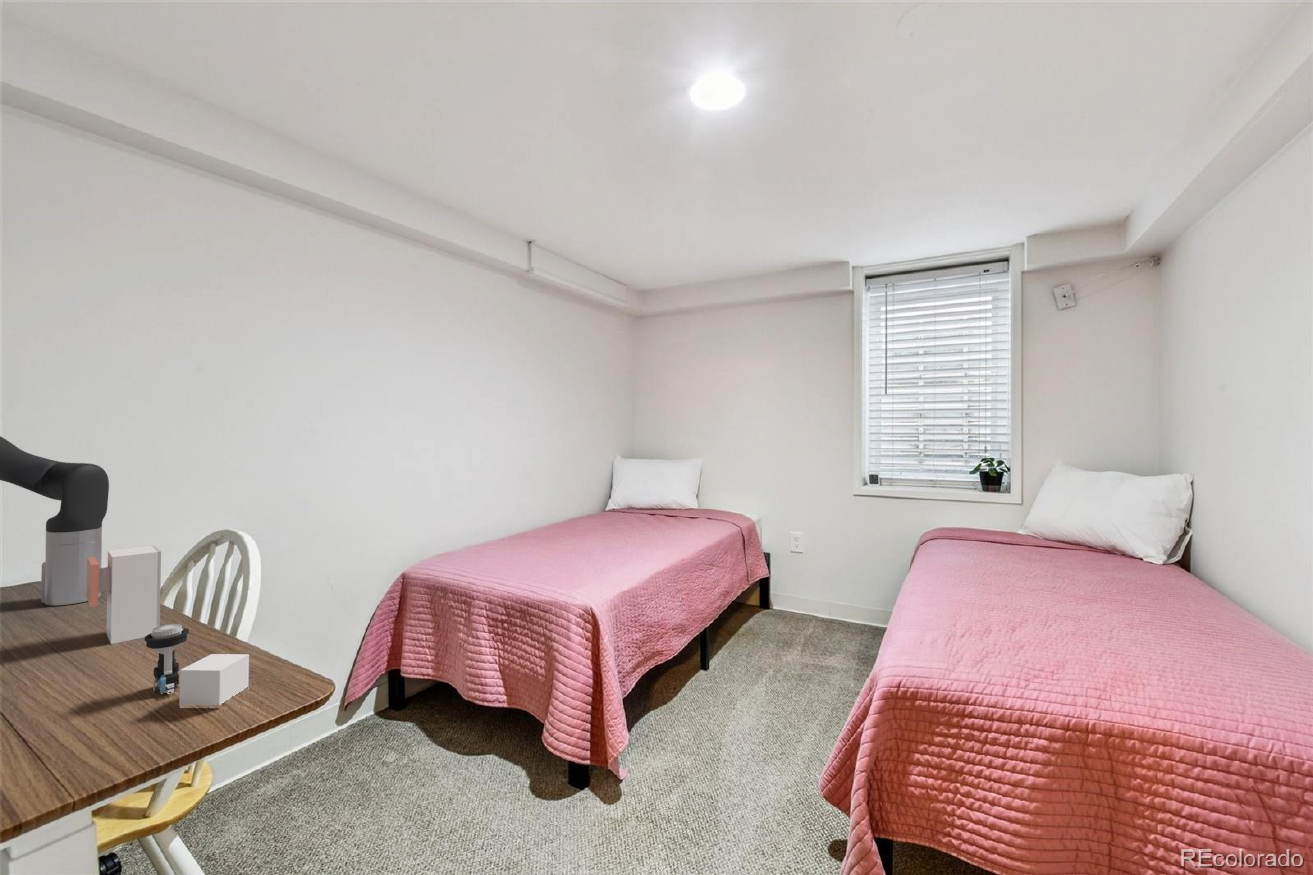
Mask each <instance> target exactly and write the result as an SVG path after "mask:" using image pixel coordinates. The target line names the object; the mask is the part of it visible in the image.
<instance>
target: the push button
mask: <svg viewBox="0 0 1313 875" xmlns="http://www.w3.org/2000/svg"><path fill="white" fill-rule="evenodd" d="M189 632H190V629H189V628H186V627H183V625H182V624H180V623H169V624H164V625H160V626H159V627H156V628H154V629H153V630H152V633H151V634H148V635H147V636H145V637H144V638H143V640H144V642H145V647H146V648H149V649H152V650H154V651H159V653H158V660H157V666H156V667H154V668H153V677H154V679H155V680H153V682H152V683H153V684H152V685H153V686H152V687H153V688H152V690H154V691H155V692H156V687H157V686H158V687H159V689H160V691H161V693H166V692H167V695H171V694H174V693H175V691H176V687H177V686H178V685H179V686H180V673H179V672H180V663H179V662H176V658H175V656H176V650H174V649H175V648H176V647H178V646H181V644H182V643H184V642H186V641H187V640H188V635H189ZM158 687H157V688H158ZM159 689H158V690H159ZM174 690H175V691H174ZM154 691H153V692H154ZM160 691H159V692H160ZM169 692H171V693H169Z"/></svg>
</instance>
